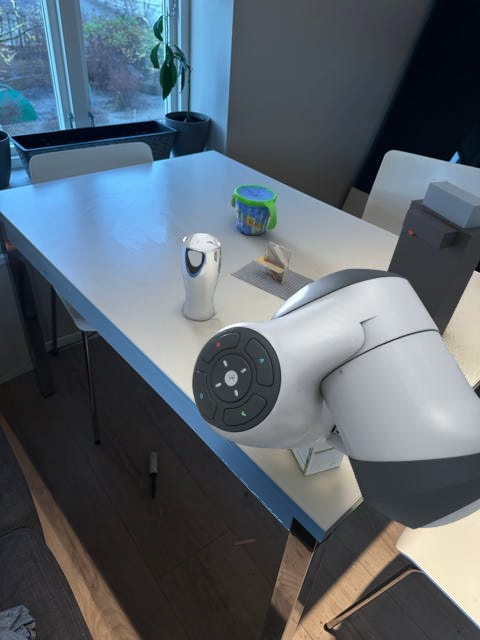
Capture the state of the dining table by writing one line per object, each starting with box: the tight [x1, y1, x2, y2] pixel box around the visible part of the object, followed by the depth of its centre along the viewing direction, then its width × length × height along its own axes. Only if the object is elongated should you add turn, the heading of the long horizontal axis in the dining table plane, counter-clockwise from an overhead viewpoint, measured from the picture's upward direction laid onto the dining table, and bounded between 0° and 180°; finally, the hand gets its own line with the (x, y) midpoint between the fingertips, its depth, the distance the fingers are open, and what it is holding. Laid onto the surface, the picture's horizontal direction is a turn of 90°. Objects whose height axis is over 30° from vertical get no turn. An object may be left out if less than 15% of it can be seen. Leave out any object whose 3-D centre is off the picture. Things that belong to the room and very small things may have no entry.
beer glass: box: [181, 232, 223, 322], centre depth 81 cm, size 7×7×15 cm
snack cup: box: [230, 184, 278, 236], centre depth 114 cm, size 16×10×10 cm
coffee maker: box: [386, 180, 480, 338], centre depth 81 cm, size 15×14×27 cm
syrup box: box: [290, 441, 345, 476], centre depth 58 cm, size 6×6×14 cm
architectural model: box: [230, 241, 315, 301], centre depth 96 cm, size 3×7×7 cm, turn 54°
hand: (323, 412), depth 56 cm, fingers open, 8 cm apart
